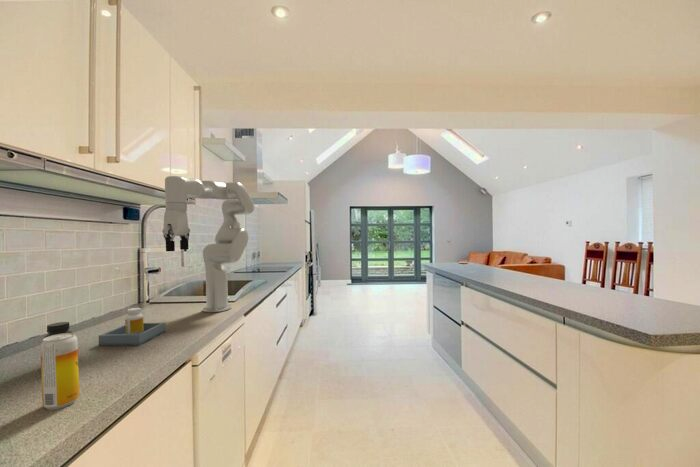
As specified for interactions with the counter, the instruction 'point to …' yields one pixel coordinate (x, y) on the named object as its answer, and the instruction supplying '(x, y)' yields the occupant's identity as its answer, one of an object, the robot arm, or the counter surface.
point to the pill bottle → (59, 370)
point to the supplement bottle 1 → (57, 329)
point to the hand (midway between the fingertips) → (177, 250)
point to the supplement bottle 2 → (134, 321)
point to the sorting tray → (131, 335)
